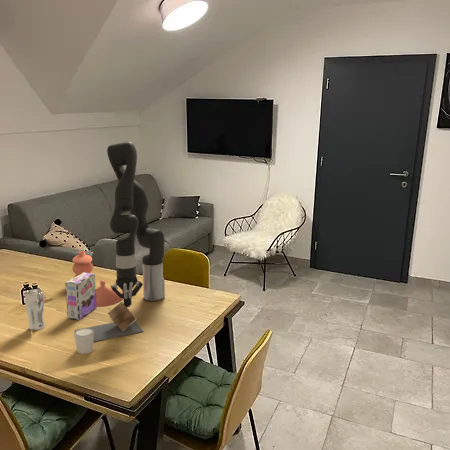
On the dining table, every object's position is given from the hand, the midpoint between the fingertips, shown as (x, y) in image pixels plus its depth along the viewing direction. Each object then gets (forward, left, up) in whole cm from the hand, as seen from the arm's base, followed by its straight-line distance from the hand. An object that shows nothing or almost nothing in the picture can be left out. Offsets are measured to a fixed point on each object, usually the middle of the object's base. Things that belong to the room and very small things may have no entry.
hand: (127, 306), depth 179 cm
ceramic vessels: (+4, -42, -10) cm, 43 cm away
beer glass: (+33, -17, -9) cm, 38 cm away
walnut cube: (0, 0, -7) cm, 7 cm away
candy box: (+14, -23, -9) cm, 28 cm away
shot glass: (+19, +11, -9) cm, 24 cm away
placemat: (+8, 0, -9) cm, 12 cm away
